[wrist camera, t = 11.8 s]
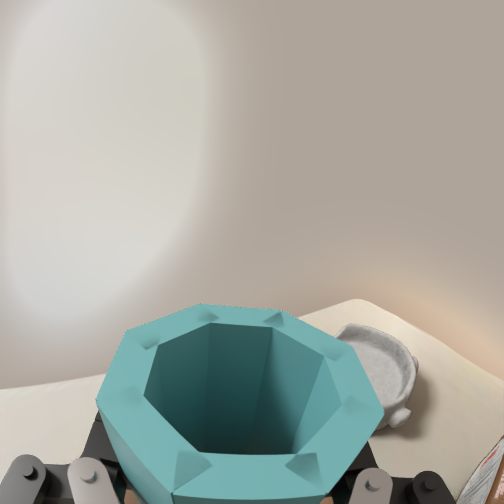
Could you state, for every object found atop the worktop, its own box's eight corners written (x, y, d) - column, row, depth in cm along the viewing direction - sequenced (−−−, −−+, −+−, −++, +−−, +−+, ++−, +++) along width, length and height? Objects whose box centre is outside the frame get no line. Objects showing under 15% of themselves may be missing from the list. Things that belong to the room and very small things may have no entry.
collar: (149, 558, 7) (69, 470, 4) (162, 455, 13) (142, 297, 9) (296, 563, 8) (413, 475, 4) (281, 462, 14) (335, 312, 10)
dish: (256, 390, 29) (263, 355, 27) (326, 338, 39) (336, 306, 37) (376, 466, 20) (401, 436, 18) (421, 387, 30) (438, 355, 28)
